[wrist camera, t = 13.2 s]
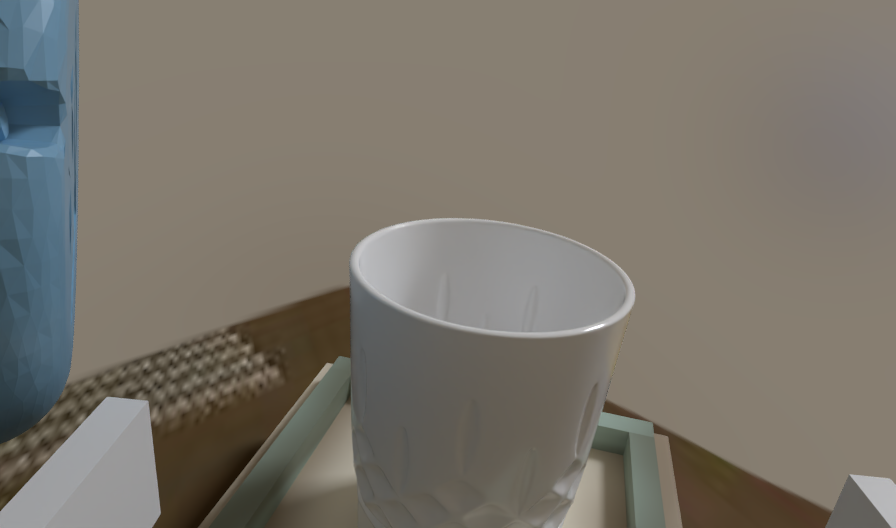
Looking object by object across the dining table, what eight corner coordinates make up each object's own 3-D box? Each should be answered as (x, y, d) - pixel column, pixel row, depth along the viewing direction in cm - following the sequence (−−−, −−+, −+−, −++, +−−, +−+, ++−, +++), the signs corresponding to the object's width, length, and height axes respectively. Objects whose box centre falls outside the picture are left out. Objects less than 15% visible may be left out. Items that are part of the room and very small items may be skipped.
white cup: (455, 699, 16) (507, 376, 12) (292, 517, 21) (292, 245, 17) (615, 544, 21) (687, 283, 18) (455, 427, 26) (483, 204, 22)
